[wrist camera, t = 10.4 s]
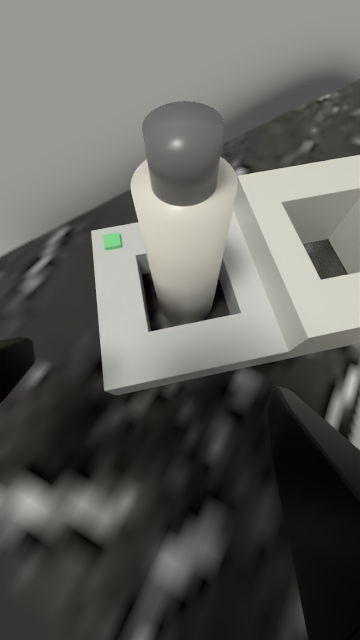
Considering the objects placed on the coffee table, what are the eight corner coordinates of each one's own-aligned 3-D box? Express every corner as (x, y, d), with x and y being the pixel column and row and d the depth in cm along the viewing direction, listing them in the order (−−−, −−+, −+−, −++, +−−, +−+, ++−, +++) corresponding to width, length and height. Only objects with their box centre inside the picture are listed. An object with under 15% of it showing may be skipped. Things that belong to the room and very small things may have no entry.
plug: (223, 309, 18) (277, 139, 7) (173, 334, 18) (151, 189, 7) (196, 268, 20) (207, 76, 9) (149, 290, 19) (98, 111, 8)
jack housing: (423, 329, 17) (508, 295, 13) (116, 395, 16) (87, 384, 12) (345, 207, 22) (386, 150, 17) (102, 252, 21) (77, 203, 16)
